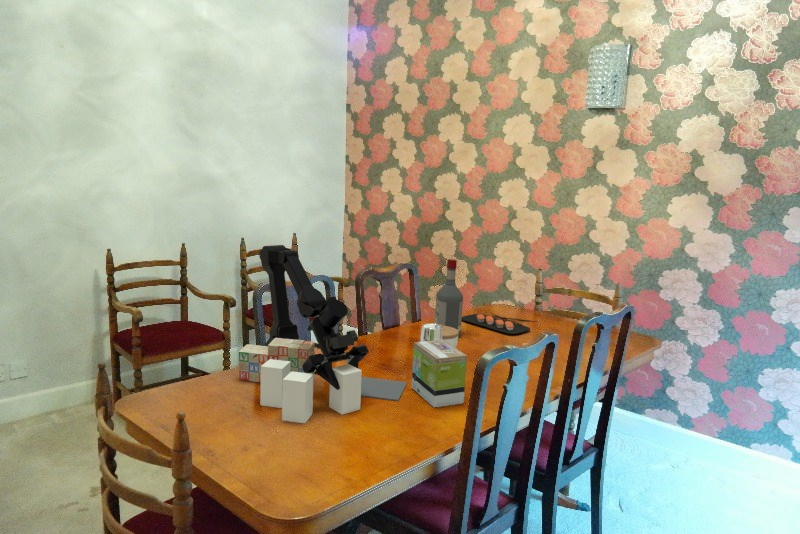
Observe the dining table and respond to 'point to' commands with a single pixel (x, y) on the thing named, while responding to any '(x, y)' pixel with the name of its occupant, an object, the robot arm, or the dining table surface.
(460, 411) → the dining table surface
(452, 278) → the liquor
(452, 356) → the tea box
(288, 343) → the stack of blocks
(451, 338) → the lidded bowl
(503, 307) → the dining table surface
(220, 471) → the dining table surface
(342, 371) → the white rectangular prism
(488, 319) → the sushi plate
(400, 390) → the charcoal mat
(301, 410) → the tall white pillar block
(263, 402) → the long cream brick
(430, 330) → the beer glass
